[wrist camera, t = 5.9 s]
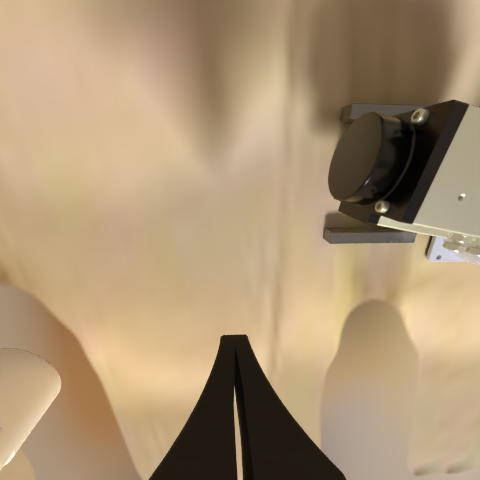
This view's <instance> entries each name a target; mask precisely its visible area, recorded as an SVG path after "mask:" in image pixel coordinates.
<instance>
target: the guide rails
mask: <svg viewBox="0 0 480 480" xmlns="http://www.w3.org/2000/svg"><path fill="white" fill-rule="evenodd" d="M424 107H428V106H420V105H385V104H351V105H348V106H346V107H344V108H342V114H341V121H340V122H354V121H355V120H356V119H357V118H359V117H360V116H362V115H363V114H365V113H368V112H378V113H382V114H385V115H389V116H394V115H398V114H401V113H405V112H409V111H413V110H417V109H420V108H424ZM416 234H417V233H414V232H409V231H404V230H399V229H394V228H325V230H324V236H323V238H324V239H325V240H326V241H327V242H329V243H330V244H340V243H413V242H414V241H415V237H416Z"/></svg>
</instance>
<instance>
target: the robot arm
mask: <svg viewBox="0 0 480 480" xmlns="http://www.w3.org/2000/svg"><path fill="white" fill-rule="evenodd" d="M444 241H449V242H452V240H450V239H445V238H440V237H435V236H433V238H432V241H431V244H430V247H429V250H428V253H427V256H426V258H427V260H429V261H431V262H447V261H469V262H471V263H474V264H476V265H478V266H480V256H477V255H474V254H471V253H468V252H466V250H465V252H463V253H459V252H455V251H451V250H449V249H446V248H444V247H443V243H444ZM461 245H463V246H465V247H467V245H470V246H475V245H476V244H471V243H468V244H465V243H461ZM234 386H235V394H236V402H237V411H238V419H239V427H240V435H241V447H242V467H243V480H346V478H345V476H344V474H343V473H342V472H341V471H340V470H339V469H338V468H337V467H336V466H335V465H334V464H333V463H332V462H331V461H330V460H329V459H328V457H326V455H325V454H324V453H323V452H322V451H321V450H320V449H319V448H318V447H317V446H316V444H315V443H314V442H313V441H312V440H311V439H310V438H309V436H308V435H307V434H306V433H305V432H304V430H303V429H302V428H301V427H300V425H299V424H298V423H297V422H296V420H295V419H294V418H293V417H292V415H291V414H290V413H289V411H288V410H287V409H286V407H285V406H284V404H283V403H282V402H281V400H280V399H279V397H278V396H277V394H276V393H275V391H274V389H273V388H272V386H271V385H270V383H269V381H268V380H267V378H266V376H265V374H264V373H263V371H262V369H261V367H260V365H259V363H258V361H257V359H256V357H255V355H254V352H253V350H252V348H251V345H250V343H249V340H248V336H247V335H223V336H221V340H220V345H219V350H218V353H217V357H216V360H215V362H214V365H213V368H212V371H211V373H210V376H209V378H208V380H207V383H206V385H205V387H204V390H203V392H202V394H201V396H200V398H199V400H198V402H197V404H196V406H195V408H194V410H193V412H192V413H191V415H190V417H189V419H188V421H187V422H186V424H185V426H184V427H183V429H182V431H181V432H180V434H179V436H178V437H177V439H176V440H175V442H174V443H173V445H172V447H171V448H170V450H169V451H168V453H167V454H166V456H165V457H164V459H163V460H162V462H161V463H160V464H159V466H158V467H157V469H156V470H155V471H154V473H153V474H152V476H151V477H150V478H149V480H237V463H236V445H235V425H234V405H233V404H234Z"/></svg>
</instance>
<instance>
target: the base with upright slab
mask: <svg viewBox="0 0 480 480" xmlns="http://www.w3.org/2000/svg"><path fill="white" fill-rule="evenodd" d="M60 388H61V379H60V376H59V375H58V372H57V371H56V369H55V368H54V367H53V366H52V365H51V364H50V363H49V362H47V361H46V360H44V359H43V358H41V357H40V356H37V355H35V354H32V353H30V352H27V351H23V350H19V349H7V348H3V349H0V470H1V469H2V467H3V466H4V465H6V464H7V463H9V462H10V460H11V459H12V458H13V456H14V455H15V453H16V452H17V451H18V449H19V448H20V446H21V445H22V444H23V442H24V441H25V439H26V438H27V437H28V435H29V434H30V432H31V431H32V430H33V428H34V427H35V425H36V424H37V422H38V421H39V420H40V418H41V417H42V416H43V414H44V413H45V411H46V410H47V409H48V407H49V406H50V404H51V403H52V402H53V400H54V399H55V397H56V396H57V395H58V393H59V392H60Z"/></svg>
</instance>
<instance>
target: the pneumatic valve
mask: <svg viewBox="0 0 480 480" xmlns="http://www.w3.org/2000/svg"><path fill="white" fill-rule="evenodd" d="M328 185H329V190H330V193H331V195H332V196H333V197H334V199H336V200H339V201H341V204H340V206H339V209H338V211H340V212H342V213H344V214H347V215H349V216H351V217H353V218H356V219H358V220H360V221H362V222H364V223H368V224H373V225H378V226H384V227H389V228H394V229H399V230H404V231H409V232H414V233H419V234H425V235H430V236H435V237H440V238H445V239H450V240H452V242H449V241H444V243H443V247H444V248H446V249H449V250H451V251H455V252H459V253H463V252H465V250H466V252H468V253H471V254H474V255H477V256H480V107H478V106H474V105H471V104H467V103H464V102H460V101H457V100H451V101H447V102H443V103H439V104H435V105H432V106H428V107H424V108H420V109H417V110H413V111H409V112H405V113H401V114H398V115H394V116H389V115H385V114H382V113H378V112H368V113H365V114H363V115H362V116H360V117H359V118H357V119H356V120H355V121H354V122H353V123H352V124H351V125H350V127H349V128H348V129H347V130H346V132H345V133H344V135H343V136H342V138H341V140H340V142H339V143H338V145H337V147H336V150H335V152H334V155H333V158H332V161H331V164H330V169H329V176H328ZM461 243H465V244H468V243H471V244H476V245H475V246H470V245H467V247H465V246H463V245H461Z"/></svg>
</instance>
